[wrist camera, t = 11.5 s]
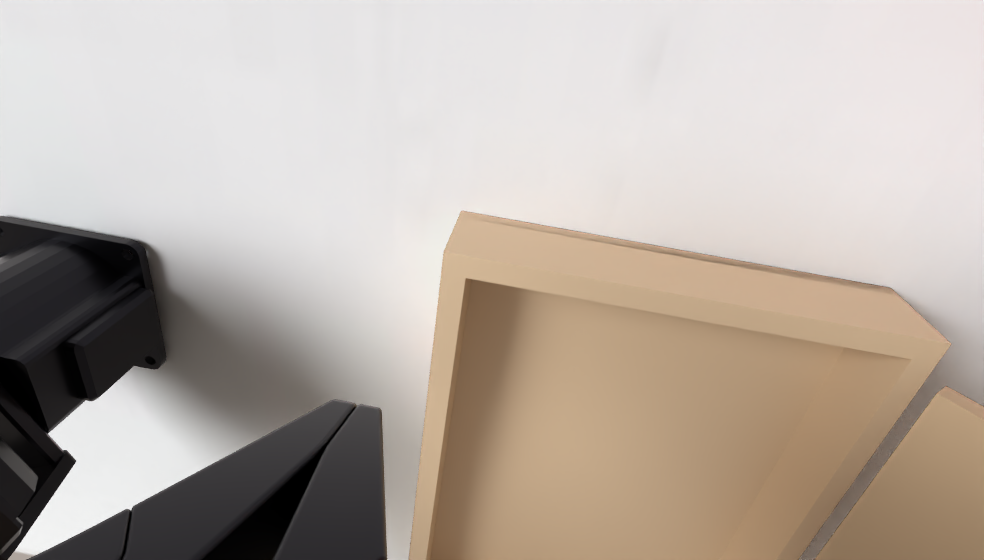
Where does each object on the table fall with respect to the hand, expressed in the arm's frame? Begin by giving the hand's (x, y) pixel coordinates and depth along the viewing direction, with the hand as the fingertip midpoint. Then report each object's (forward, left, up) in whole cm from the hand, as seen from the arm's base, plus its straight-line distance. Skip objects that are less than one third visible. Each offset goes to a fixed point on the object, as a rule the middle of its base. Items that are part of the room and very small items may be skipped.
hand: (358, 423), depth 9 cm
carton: (+8, -12, -12) cm, 19 cm away
